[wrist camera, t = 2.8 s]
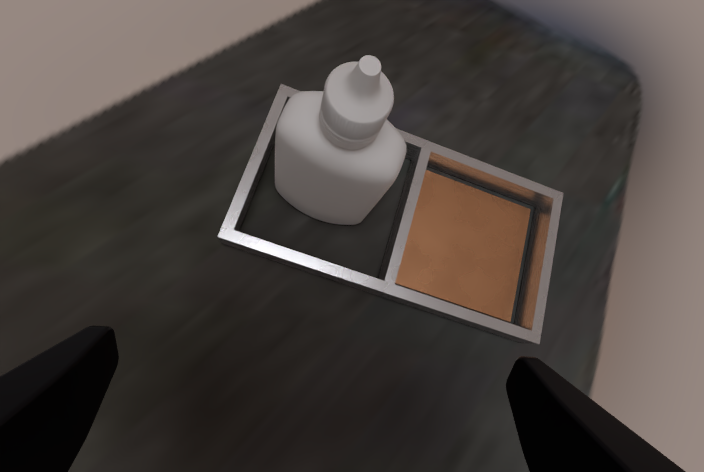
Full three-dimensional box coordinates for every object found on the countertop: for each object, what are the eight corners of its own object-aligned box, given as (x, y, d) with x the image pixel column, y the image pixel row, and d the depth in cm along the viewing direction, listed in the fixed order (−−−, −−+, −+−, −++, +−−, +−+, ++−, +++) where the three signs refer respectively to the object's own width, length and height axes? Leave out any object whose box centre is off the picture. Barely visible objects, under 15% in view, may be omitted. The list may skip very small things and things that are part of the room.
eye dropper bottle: (321, 139, 24) (364, -32, 12) (379, 208, 24) (477, 99, 12) (264, 177, 23) (253, 27, 11) (324, 251, 22) (375, 175, 11)
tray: (544, 201, 26) (563, 193, 24) (520, 342, 23) (539, 344, 22) (280, 101, 24) (280, 83, 22) (222, 243, 21) (217, 236, 20)
